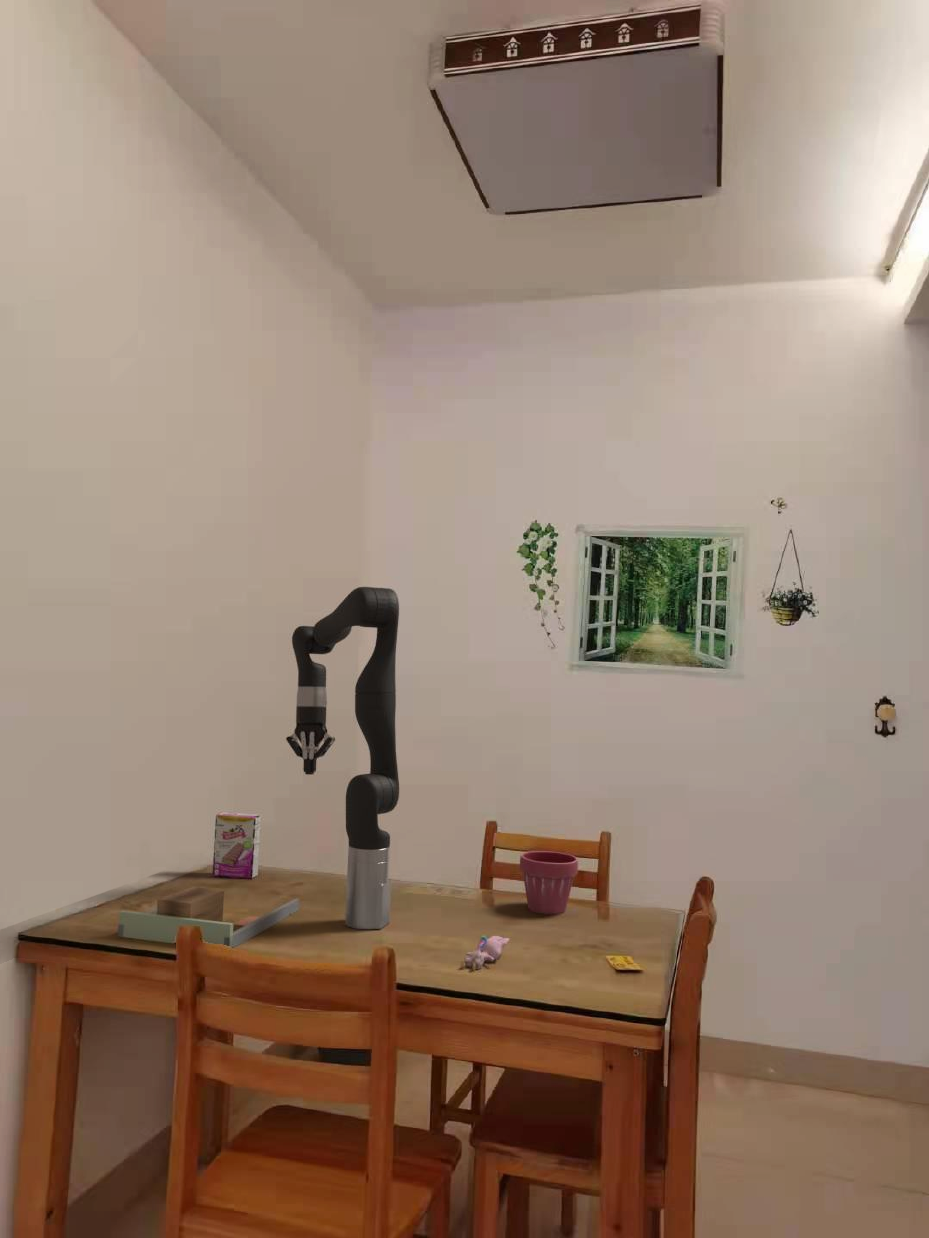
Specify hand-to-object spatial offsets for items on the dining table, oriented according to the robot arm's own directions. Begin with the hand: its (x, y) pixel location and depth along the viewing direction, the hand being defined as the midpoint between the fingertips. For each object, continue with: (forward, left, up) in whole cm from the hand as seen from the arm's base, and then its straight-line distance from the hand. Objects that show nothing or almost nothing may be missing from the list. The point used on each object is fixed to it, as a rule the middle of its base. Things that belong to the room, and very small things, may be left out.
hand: (309, 774), depth 236 cm
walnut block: (+8, +40, -30) cm, 51 cm away
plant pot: (-60, -9, -30) cm, 67 cm away
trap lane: (+7, +32, -30) cm, 44 cm away
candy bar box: (+24, -10, -30) cm, 40 cm away
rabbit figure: (-55, +36, -30) cm, 72 cm away
